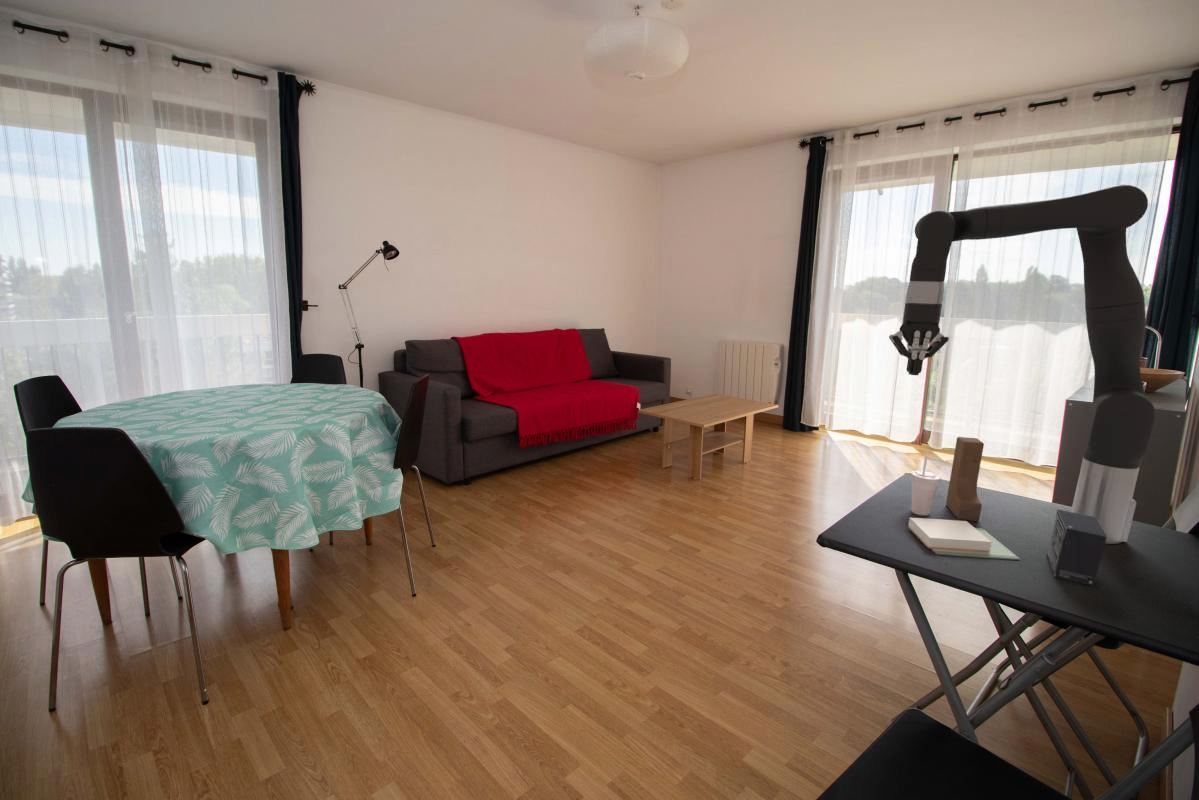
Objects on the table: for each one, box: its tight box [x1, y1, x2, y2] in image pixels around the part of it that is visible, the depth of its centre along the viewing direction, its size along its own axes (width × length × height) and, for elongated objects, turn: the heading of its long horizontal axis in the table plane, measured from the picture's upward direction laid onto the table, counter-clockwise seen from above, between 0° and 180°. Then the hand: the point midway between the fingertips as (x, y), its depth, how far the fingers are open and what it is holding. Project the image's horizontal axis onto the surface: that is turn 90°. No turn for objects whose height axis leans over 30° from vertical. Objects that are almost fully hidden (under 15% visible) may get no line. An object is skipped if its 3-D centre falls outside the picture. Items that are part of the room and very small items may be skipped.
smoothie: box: [909, 456, 942, 516], centre depth 134 cm, size 6×6×14 cm
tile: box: [907, 517, 991, 552], centre depth 121 cm, size 2×10×12 cm
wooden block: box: [945, 436, 985, 522], centre depth 133 cm, size 9×4×18 cm, turn 166°
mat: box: [907, 523, 1021, 561], centre depth 121 cm, size 16×14×1 cm
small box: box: [1046, 509, 1107, 587], centre depth 108 cm, size 11×6×10 cm, turn 148°
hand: (913, 374), depth 133 cm, fingers closed
